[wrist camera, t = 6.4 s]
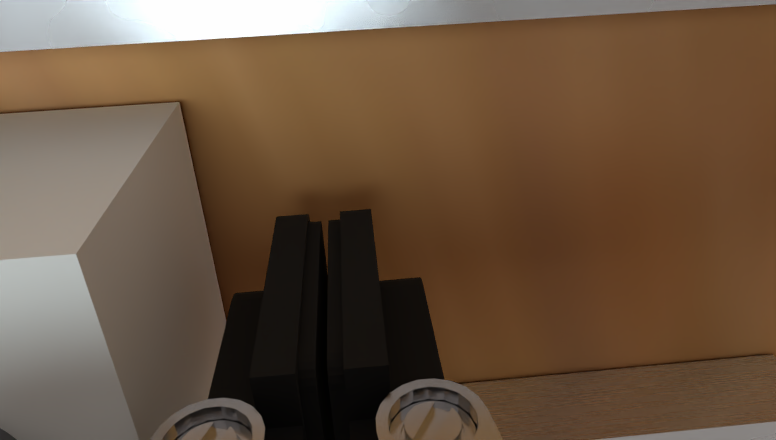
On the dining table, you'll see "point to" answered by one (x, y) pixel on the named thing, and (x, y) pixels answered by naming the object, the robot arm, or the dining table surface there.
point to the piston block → (102, 274)
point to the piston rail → (501, 397)
